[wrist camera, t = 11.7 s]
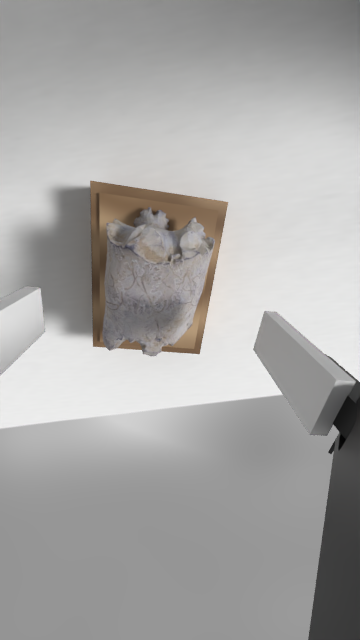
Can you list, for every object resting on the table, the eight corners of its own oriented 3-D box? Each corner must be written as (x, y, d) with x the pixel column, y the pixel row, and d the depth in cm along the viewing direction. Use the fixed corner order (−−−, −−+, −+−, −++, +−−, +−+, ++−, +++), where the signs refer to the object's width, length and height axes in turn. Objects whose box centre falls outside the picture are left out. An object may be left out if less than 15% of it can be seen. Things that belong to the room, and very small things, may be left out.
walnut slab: (101, 186, 23) (89, 180, 19) (218, 204, 25) (228, 201, 21) (101, 330, 30) (92, 347, 26) (194, 337, 31) (199, 355, 27)
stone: (108, 326, 25) (92, 363, 18) (119, 202, 20) (101, 195, 14) (182, 336, 26) (191, 374, 20) (208, 220, 21) (229, 222, 15)
